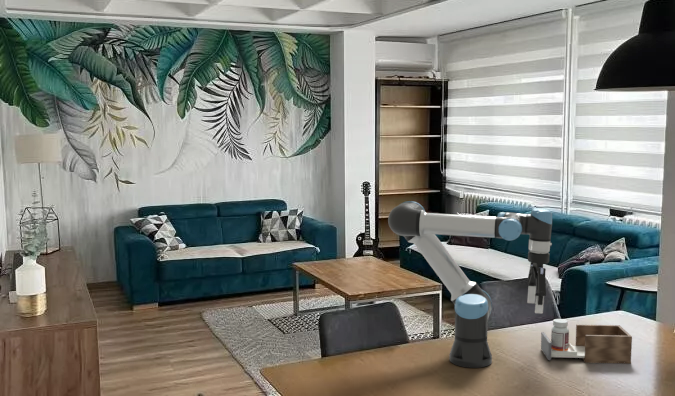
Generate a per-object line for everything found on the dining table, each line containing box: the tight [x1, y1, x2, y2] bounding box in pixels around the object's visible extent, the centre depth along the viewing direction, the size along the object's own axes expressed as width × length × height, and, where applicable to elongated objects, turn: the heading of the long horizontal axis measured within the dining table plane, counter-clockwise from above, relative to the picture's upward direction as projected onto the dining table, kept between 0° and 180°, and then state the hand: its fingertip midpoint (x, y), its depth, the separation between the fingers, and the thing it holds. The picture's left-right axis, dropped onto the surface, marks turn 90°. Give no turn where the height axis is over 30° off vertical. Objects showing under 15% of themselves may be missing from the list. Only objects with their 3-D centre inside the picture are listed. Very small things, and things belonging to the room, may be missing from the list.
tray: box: [540, 331, 585, 361], centre depth 264 cm, size 16×13×6 cm
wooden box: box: [575, 324, 633, 365], centre depth 263 cm, size 16×14×10 cm
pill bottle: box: [550, 318, 570, 351], centre depth 264 cm, size 6×6×11 cm
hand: (534, 308), depth 264 cm, fingers open, 13 cm apart
